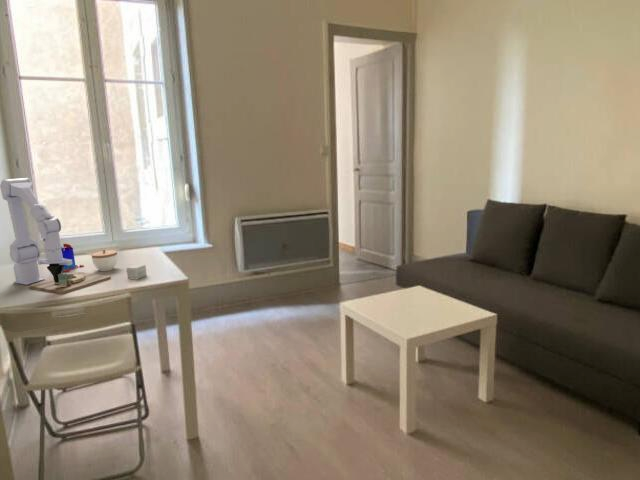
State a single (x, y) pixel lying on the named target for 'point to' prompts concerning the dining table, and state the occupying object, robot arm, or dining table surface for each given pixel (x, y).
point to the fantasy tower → (69, 254)
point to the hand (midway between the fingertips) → (58, 281)
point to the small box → (136, 271)
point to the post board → (69, 283)
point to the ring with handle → (64, 282)
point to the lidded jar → (105, 260)
